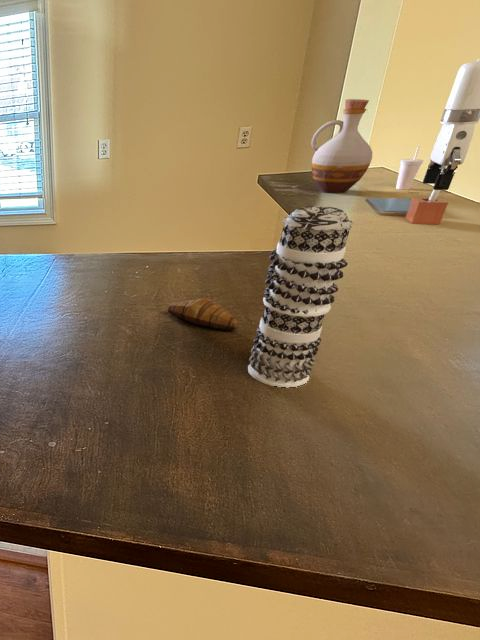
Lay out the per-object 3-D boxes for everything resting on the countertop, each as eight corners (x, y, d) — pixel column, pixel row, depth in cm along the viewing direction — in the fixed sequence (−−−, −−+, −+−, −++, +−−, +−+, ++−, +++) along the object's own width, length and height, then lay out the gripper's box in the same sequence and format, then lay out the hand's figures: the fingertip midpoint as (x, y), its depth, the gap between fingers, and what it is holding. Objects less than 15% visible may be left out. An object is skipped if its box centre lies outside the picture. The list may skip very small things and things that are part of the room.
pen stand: (432, 218, 139) (440, 197, 136) (439, 224, 134) (448, 202, 131) (405, 218, 141) (412, 197, 138) (411, 223, 136) (419, 201, 133)
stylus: (424, 221, 138) (449, 169, 132) (426, 221, 137) (451, 169, 130) (417, 220, 138) (442, 168, 132) (419, 220, 137) (444, 169, 131)
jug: (294, 193, 177) (315, 102, 162) (305, 184, 189) (326, 98, 174) (357, 197, 166) (386, 99, 151) (365, 188, 177) (393, 96, 162)
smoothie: (414, 190, 169) (429, 147, 162) (392, 190, 172) (406, 148, 165) (412, 187, 173) (426, 145, 166) (390, 186, 176) (403, 145, 169)
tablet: (416, 201, 156) (417, 198, 156) (436, 216, 141) (437, 212, 140) (365, 200, 162) (366, 197, 161) (379, 214, 146) (380, 211, 145)
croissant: (244, 325, 89) (249, 301, 86) (228, 338, 85) (232, 313, 83) (177, 307, 98) (180, 284, 95) (159, 318, 94) (162, 295, 91)
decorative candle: (254, 388, 71) (294, 220, 59) (238, 358, 79) (270, 203, 67) (321, 390, 70) (377, 218, 57) (298, 359, 77) (343, 201, 65)
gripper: (493, 119, 116) (463, 193, 124) (466, 113, 130) (441, 180, 138) (454, 120, 119) (427, 192, 127) (431, 115, 132) (409, 180, 141)
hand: (434, 186), depth 133 cm, fingers open, 8 cm apart
